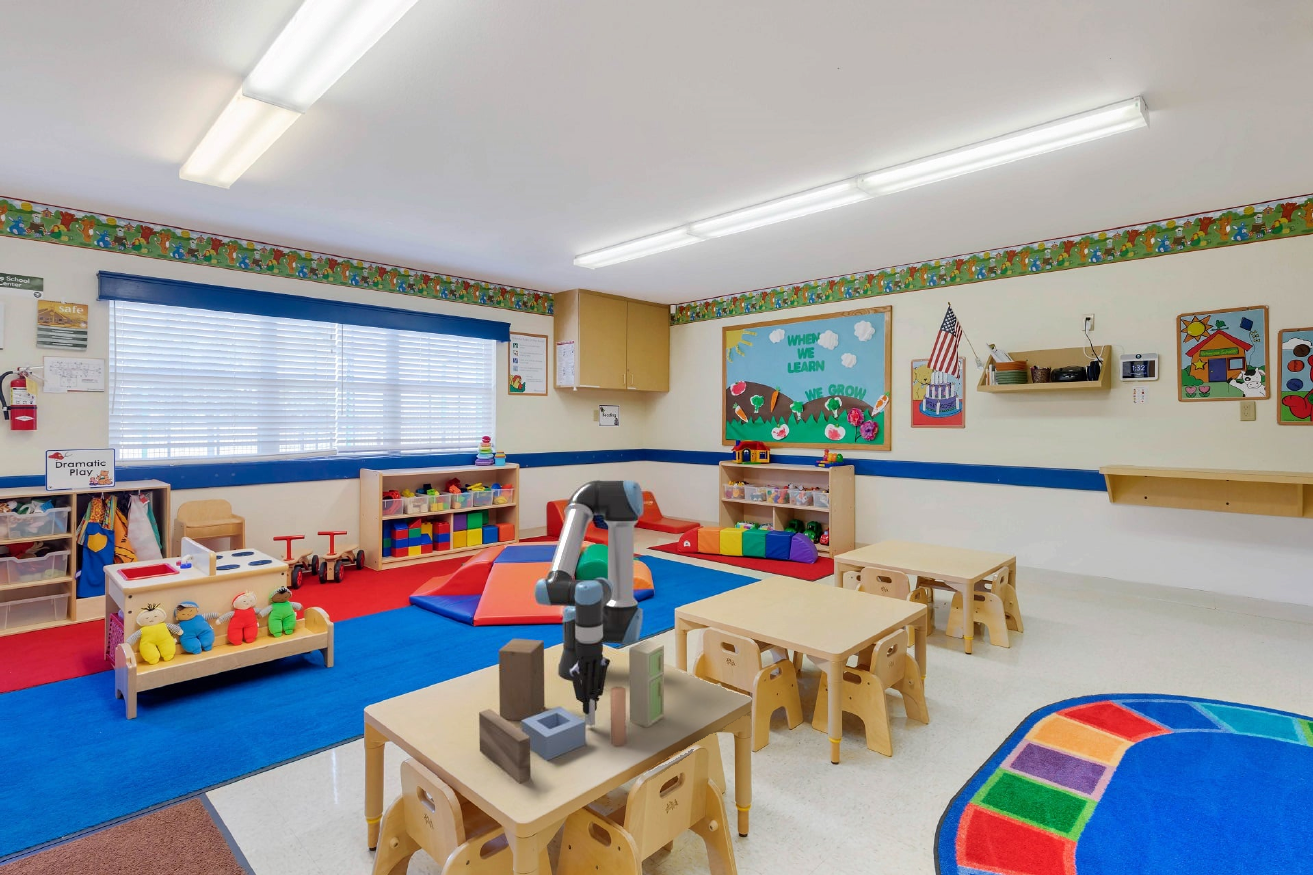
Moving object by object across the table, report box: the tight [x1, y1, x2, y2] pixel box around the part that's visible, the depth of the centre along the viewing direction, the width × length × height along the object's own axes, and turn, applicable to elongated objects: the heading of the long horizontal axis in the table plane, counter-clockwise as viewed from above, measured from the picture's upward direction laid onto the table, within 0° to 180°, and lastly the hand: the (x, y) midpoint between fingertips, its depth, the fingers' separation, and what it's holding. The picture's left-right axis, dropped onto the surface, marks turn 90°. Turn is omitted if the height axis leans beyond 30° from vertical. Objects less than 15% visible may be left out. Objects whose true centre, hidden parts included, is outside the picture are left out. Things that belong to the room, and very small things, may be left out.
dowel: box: [609, 686, 627, 747], centre depth 166 cm, size 4×4×14 cm
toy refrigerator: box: [628, 640, 665, 728], centre depth 179 cm, size 8×7×21 cm
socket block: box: [521, 705, 587, 761], centre depth 166 cm, size 12×12×6 cm
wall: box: [478, 708, 532, 784], centre depth 156 cm, size 3×20×10 cm, turn 42°
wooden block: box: [498, 638, 546, 722], centre depth 183 cm, size 10×10×20 cm
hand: (589, 723), depth 174 cm, fingers closed
